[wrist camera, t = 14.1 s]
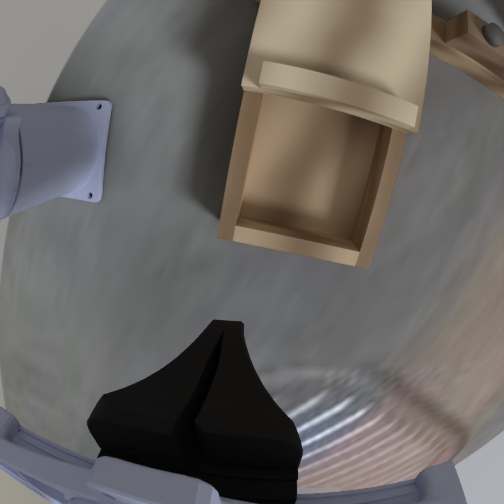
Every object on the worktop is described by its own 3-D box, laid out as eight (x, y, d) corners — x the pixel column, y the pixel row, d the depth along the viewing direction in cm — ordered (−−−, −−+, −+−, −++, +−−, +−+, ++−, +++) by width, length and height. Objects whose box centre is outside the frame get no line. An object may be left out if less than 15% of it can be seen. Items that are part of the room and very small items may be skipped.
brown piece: (210, 221, 21) (201, 234, 18) (261, -21, 14) (259, -41, 11) (475, 280, 21) (492, 296, 18) (519, 87, 14) (540, 86, 11)
